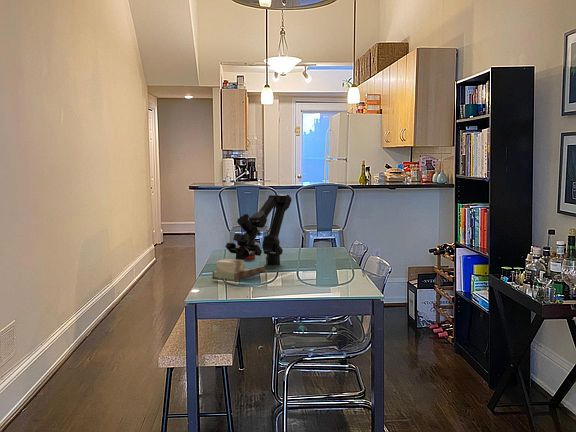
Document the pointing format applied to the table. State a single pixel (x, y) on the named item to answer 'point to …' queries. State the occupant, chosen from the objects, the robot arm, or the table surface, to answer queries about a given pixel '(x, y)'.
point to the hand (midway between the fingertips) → (236, 263)
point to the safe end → (224, 276)
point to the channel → (247, 272)
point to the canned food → (251, 255)
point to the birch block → (230, 266)
